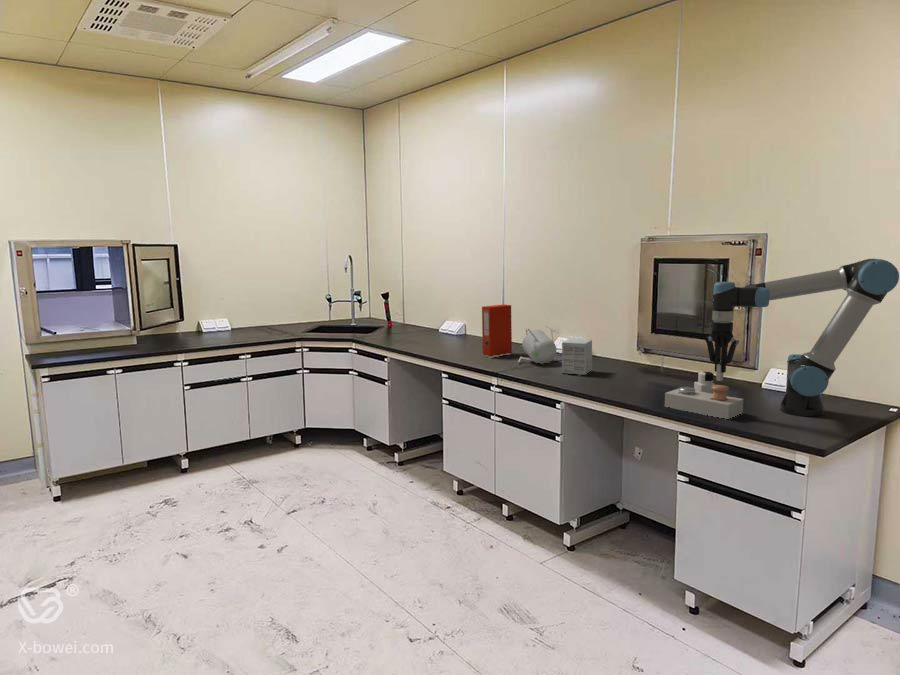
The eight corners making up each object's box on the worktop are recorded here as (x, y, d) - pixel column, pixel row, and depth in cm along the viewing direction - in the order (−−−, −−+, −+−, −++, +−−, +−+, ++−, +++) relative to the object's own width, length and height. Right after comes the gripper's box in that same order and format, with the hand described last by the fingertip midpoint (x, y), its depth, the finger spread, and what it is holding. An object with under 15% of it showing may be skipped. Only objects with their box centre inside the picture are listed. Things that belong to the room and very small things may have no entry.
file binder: (512, 355, 378) (511, 305, 373) (490, 358, 369) (489, 307, 364) (504, 353, 385) (503, 304, 380) (482, 356, 376) (481, 306, 371)
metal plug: (697, 405, 248) (698, 388, 247) (689, 408, 244) (690, 391, 243) (683, 403, 253) (684, 386, 252) (675, 406, 249) (675, 388, 248)
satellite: (535, 339, 330) (573, 339, 340) (519, 322, 346) (556, 322, 356) (525, 373, 341) (562, 372, 351) (510, 355, 356) (545, 354, 366)
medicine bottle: (709, 396, 264) (710, 370, 262) (717, 400, 257) (718, 373, 255) (693, 397, 264) (694, 370, 262) (700, 401, 257) (701, 374, 255)
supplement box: (568, 369, 330) (568, 338, 327) (592, 371, 324) (592, 339, 321) (561, 374, 319) (561, 342, 316) (585, 376, 312) (585, 343, 310)
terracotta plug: (731, 405, 237) (732, 386, 236) (723, 408, 233) (724, 389, 232) (715, 402, 242) (716, 384, 241) (707, 405, 238) (708, 386, 237)
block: (742, 413, 237) (743, 399, 236) (727, 419, 229) (728, 404, 228) (680, 401, 258) (680, 387, 257) (664, 406, 250) (665, 392, 249)
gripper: (701, 320, 235) (699, 379, 239) (734, 323, 225) (731, 384, 229) (711, 319, 240) (708, 376, 243) (743, 321, 230) (740, 381, 233)
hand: (719, 380), depth 236 cm, fingers closed
